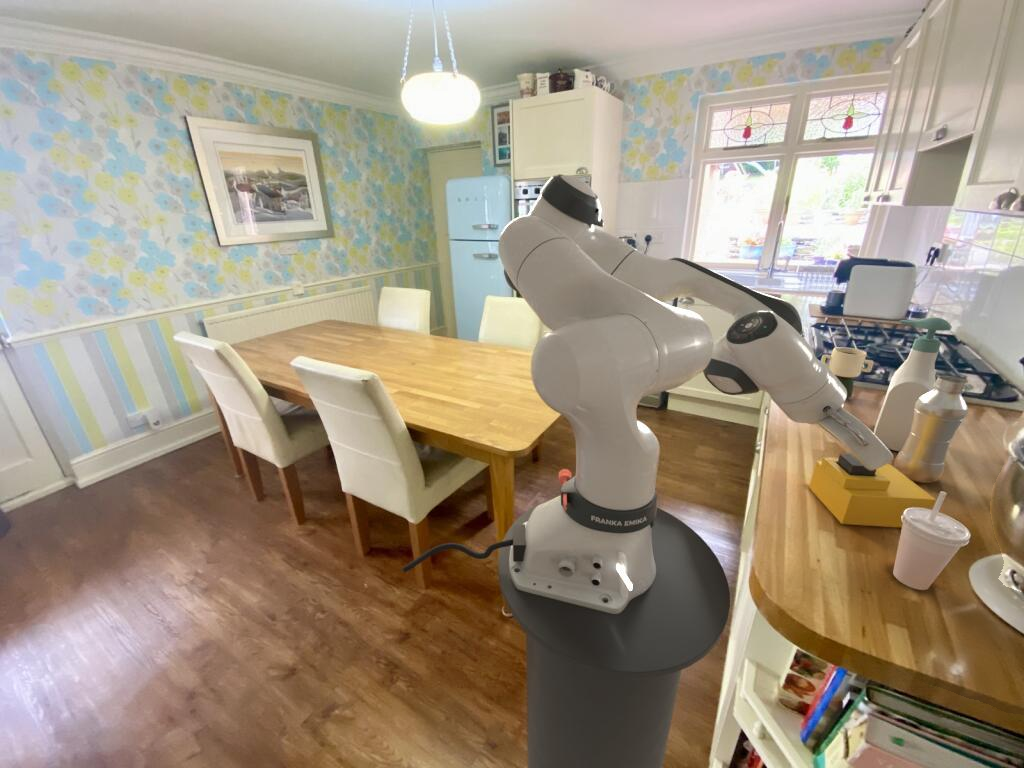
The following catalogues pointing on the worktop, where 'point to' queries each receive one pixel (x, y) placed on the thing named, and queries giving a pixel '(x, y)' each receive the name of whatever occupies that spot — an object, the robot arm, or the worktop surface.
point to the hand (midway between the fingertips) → (858, 451)
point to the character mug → (847, 365)
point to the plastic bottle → (932, 430)
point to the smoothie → (927, 544)
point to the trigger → (853, 466)
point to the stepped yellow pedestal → (867, 494)
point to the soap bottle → (909, 384)
